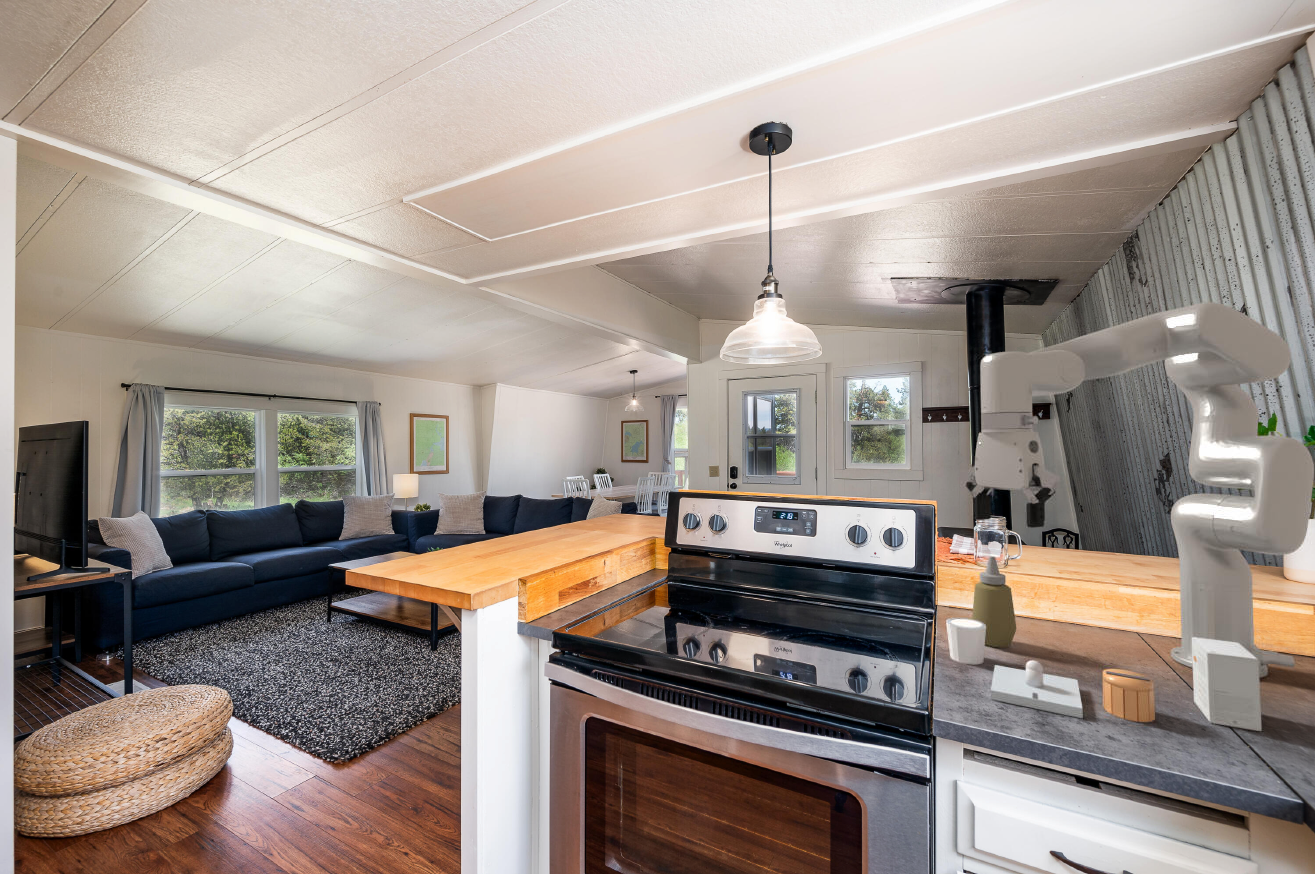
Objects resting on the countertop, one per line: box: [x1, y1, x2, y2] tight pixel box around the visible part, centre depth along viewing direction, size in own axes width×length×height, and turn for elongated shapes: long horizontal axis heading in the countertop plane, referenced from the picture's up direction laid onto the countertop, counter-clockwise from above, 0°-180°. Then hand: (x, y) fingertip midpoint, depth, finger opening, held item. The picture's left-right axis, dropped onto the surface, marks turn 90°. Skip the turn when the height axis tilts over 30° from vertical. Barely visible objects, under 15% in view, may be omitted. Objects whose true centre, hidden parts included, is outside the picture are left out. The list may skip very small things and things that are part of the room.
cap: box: [1102, 668, 1156, 723], centre depth 86 cm, size 6×6×6 cm
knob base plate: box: [990, 660, 1084, 719], centre depth 93 cm, size 12×12×6 cm
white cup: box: [945, 617, 986, 665], centre depth 108 cm, size 7×7×7 cm
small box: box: [1192, 637, 1263, 732], centre depth 84 cm, size 8×6×10 cm
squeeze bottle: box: [971, 555, 1017, 648], centre depth 116 cm, size 8×8×18 cm
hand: (1008, 522), depth 96 cm, fingers open, 9 cm apart
